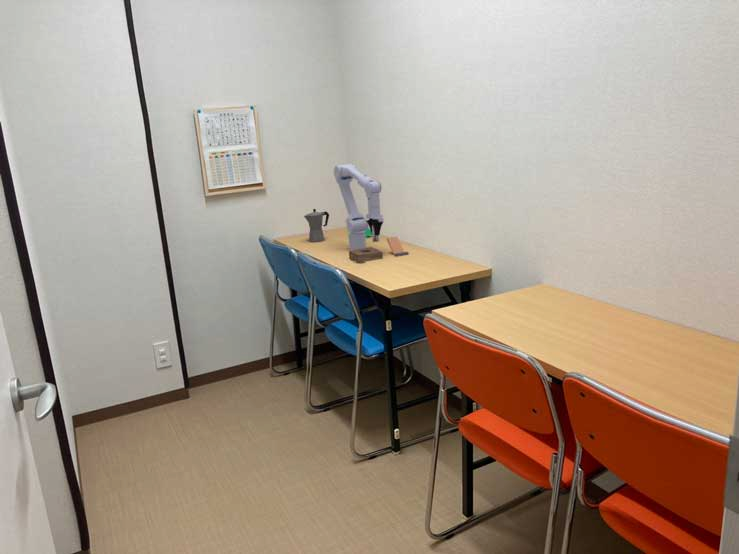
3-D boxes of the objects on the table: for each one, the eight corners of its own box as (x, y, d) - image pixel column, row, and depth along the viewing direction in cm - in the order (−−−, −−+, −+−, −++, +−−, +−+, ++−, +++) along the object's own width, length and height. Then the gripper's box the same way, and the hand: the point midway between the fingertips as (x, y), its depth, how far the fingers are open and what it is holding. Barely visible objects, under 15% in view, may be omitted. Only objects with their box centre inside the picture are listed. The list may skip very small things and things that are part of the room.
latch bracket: (394, 257, 279) (394, 253, 279) (406, 255, 282) (406, 251, 282) (396, 258, 278) (396, 254, 277) (408, 255, 281) (408, 252, 280)
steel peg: (371, 241, 286) (370, 225, 284) (377, 240, 287) (376, 224, 285) (374, 242, 283) (373, 225, 281) (380, 241, 285) (379, 225, 282)
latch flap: (386, 239, 285) (387, 237, 284) (396, 237, 288) (397, 236, 287) (394, 257, 281) (395, 255, 280) (404, 255, 283) (405, 253, 282)
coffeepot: (310, 243, 321) (307, 211, 316) (302, 241, 329) (299, 209, 324) (334, 239, 329) (332, 207, 324) (326, 237, 337) (324, 206, 332)
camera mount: (367, 235, 336) (366, 217, 334) (372, 237, 330) (371, 219, 327) (347, 237, 332) (346, 219, 329) (352, 240, 325) (351, 221, 323)
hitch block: (349, 258, 282) (348, 250, 281) (371, 255, 286) (371, 247, 285) (359, 263, 271) (359, 255, 270) (382, 259, 276) (382, 251, 275)
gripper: (388, 207, 276) (389, 235, 280) (374, 204, 289) (376, 231, 292) (375, 209, 273) (376, 237, 277) (361, 205, 286) (363, 233, 290)
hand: (375, 234), depth 284 cm, fingers closed on steel peg, 3 cm apart
